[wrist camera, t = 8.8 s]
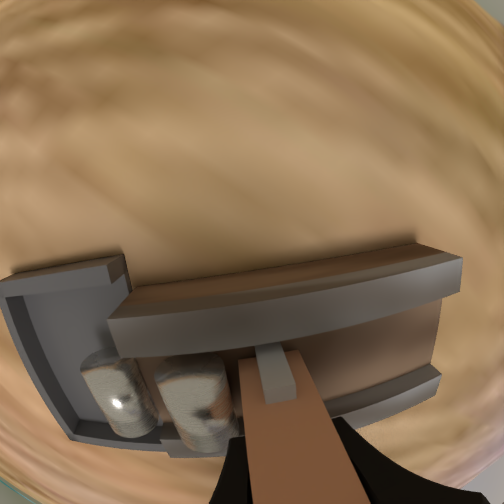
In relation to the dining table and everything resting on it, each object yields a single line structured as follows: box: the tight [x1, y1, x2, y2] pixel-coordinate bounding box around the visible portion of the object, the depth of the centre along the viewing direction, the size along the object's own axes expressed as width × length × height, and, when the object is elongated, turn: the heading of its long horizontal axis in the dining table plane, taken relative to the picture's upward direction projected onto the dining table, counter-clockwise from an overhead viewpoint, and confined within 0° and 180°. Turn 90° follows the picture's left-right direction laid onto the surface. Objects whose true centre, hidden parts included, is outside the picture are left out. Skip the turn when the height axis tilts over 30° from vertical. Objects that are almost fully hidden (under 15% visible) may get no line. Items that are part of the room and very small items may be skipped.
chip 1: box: [80, 347, 159, 438], centre depth 12 cm, size 4×3×3 cm
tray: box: [0, 254, 167, 452], centre depth 14 cm, size 14×10×2 cm
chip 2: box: [154, 352, 239, 453], centre depth 11 cm, size 4×3×3 cm
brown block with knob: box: [238, 341, 371, 504], centre depth 8 cm, size 5×3×9 cm, turn 7°
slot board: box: [106, 243, 463, 458], centre depth 14 cm, size 10×18×4 cm, turn 97°
